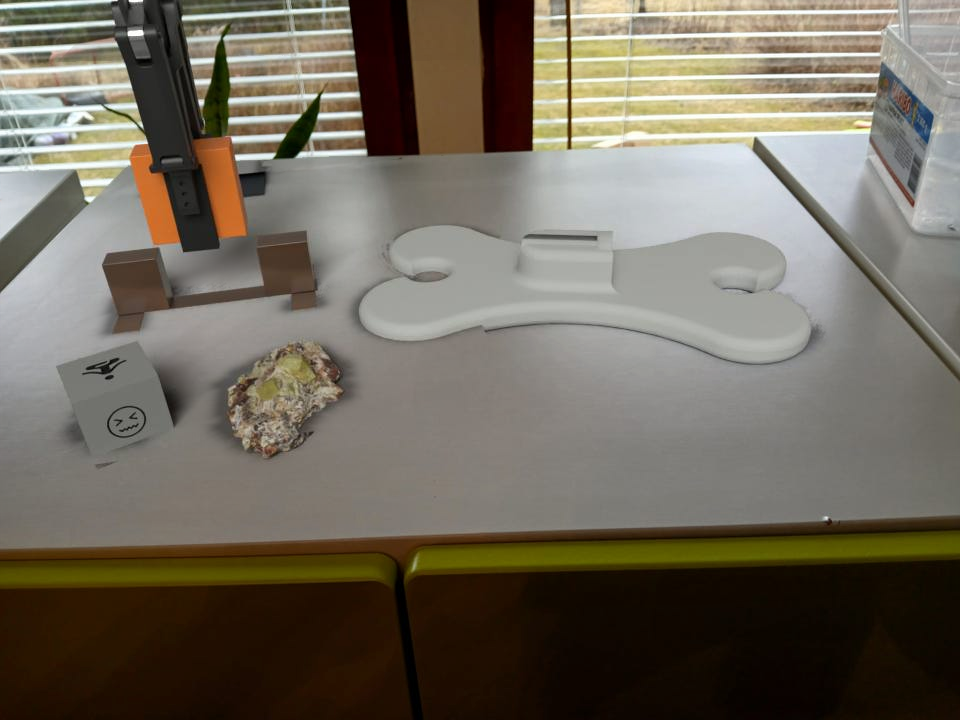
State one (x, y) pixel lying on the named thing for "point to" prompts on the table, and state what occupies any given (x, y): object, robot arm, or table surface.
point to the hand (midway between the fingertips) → (203, 238)
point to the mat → (252, 183)
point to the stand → (147, 289)
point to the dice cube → (115, 398)
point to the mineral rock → (282, 397)
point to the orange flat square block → (220, 188)
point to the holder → (593, 289)
